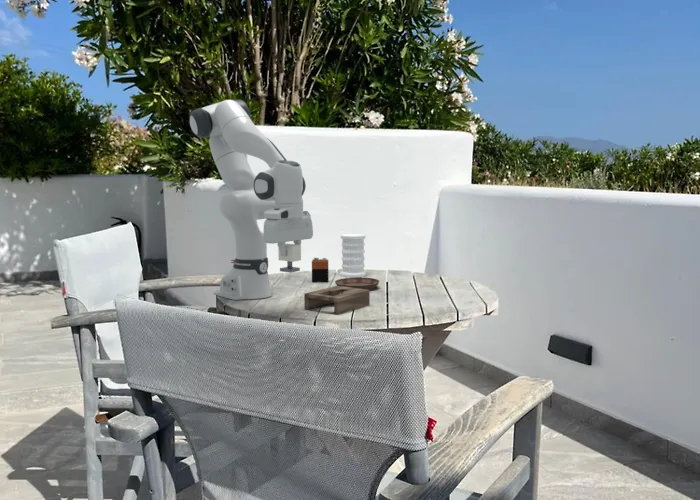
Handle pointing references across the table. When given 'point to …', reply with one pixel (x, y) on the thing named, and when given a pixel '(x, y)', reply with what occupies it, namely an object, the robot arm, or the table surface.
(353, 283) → the plant saucer
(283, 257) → the gray rectangular block
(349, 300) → the brown open frame
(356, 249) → the decorative container
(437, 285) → the table surface
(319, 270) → the battery
